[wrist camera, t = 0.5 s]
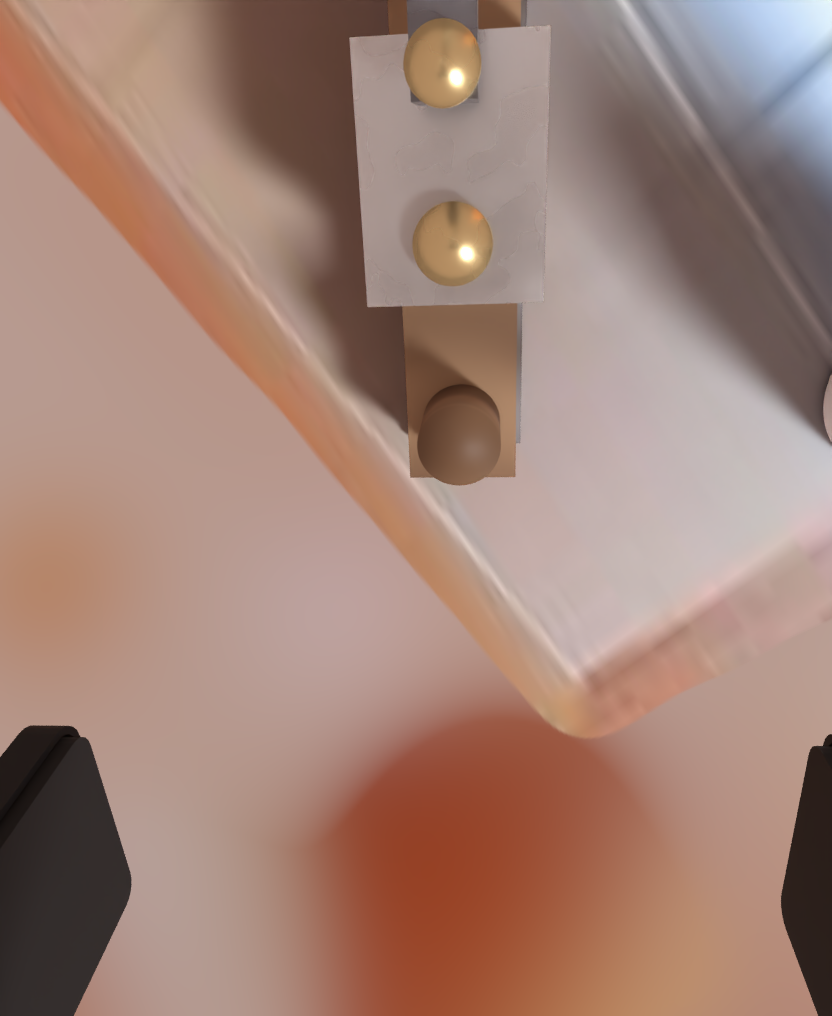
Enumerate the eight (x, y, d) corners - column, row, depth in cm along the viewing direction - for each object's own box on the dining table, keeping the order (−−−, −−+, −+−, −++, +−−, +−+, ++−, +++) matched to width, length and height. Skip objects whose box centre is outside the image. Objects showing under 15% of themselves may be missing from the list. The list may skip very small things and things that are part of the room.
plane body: (380, -260, 27) (341, -408, 20) (529, -275, 27) (544, -432, 20) (412, 438, 38) (394, 506, 31) (519, 437, 38) (526, 506, 30)
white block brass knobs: (368, 52, 27) (345, 34, 23) (542, 42, 26) (552, 21, 22) (381, 288, 30) (364, 310, 26) (537, 283, 30) (544, 305, 26)
